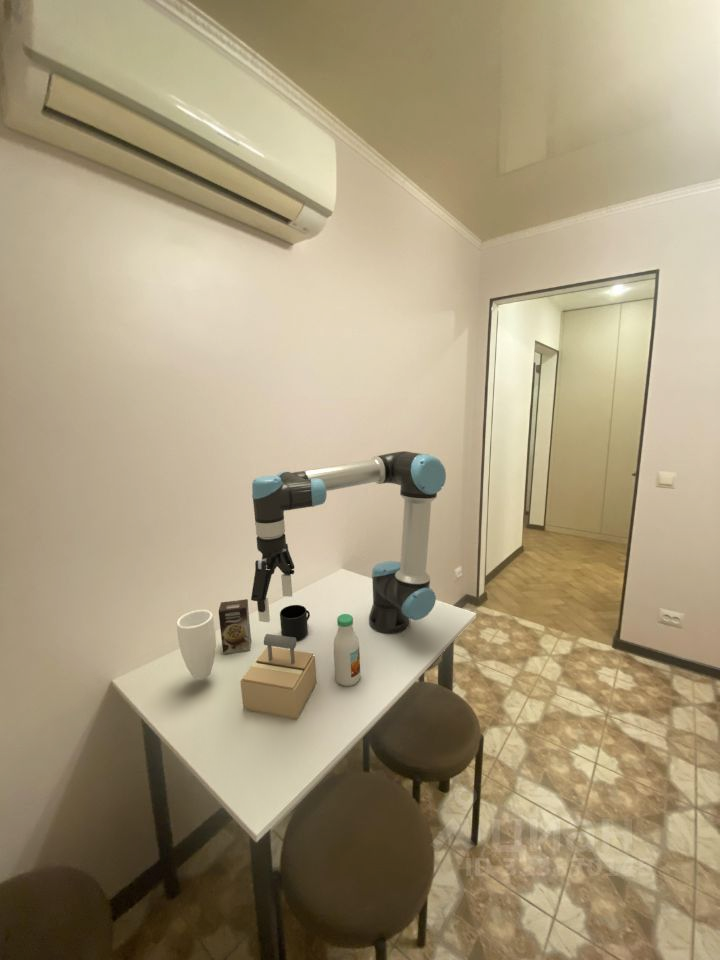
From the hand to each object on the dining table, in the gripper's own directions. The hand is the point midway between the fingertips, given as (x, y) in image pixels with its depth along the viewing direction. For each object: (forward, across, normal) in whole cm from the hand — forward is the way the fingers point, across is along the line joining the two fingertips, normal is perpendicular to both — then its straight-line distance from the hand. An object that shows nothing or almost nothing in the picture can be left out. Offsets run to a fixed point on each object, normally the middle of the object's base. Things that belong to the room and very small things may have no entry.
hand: (276, 607), depth 107 cm
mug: (+27, -28, -8) cm, 39 cm away
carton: (+26, +2, 0) cm, 26 cm away
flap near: (+17, -2, 0) cm, 17 cm away
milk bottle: (+27, -10, +17) cm, 33 cm away
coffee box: (+27, -15, -25) cm, 40 cm away
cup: (+27, +2, -25) cm, 37 cm away
